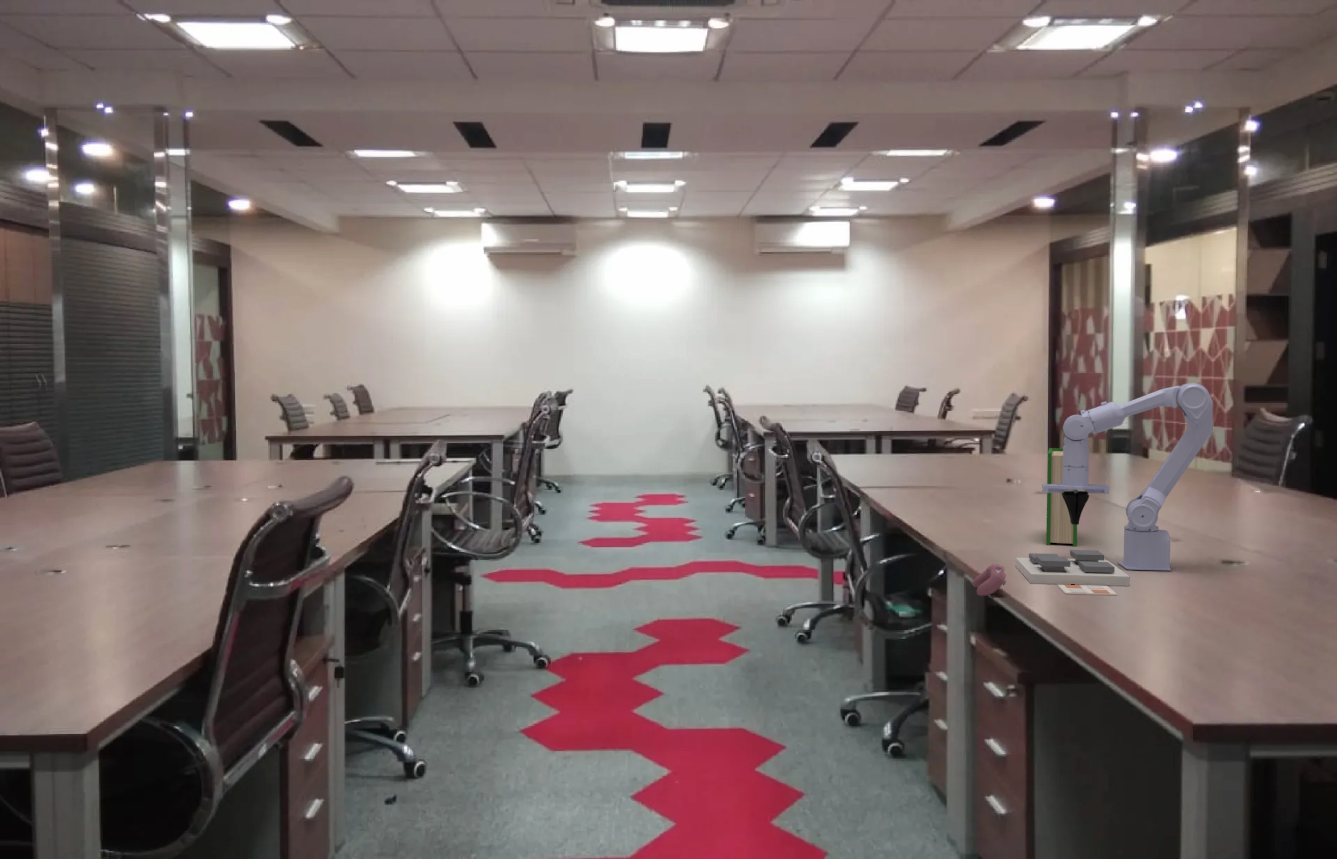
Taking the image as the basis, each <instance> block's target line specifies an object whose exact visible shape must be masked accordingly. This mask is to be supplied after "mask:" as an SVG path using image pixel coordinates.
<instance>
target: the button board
mask: <svg viewBox="0 0 1337 859" xmlns="http://www.w3.org/2000/svg"><path fill="white" fill-rule="evenodd" d="M1067 559H1068V560H1069V561H1071V562H1070V567H1065V570H1064V572H1043V571H1042V566H1040V565H1039V564H1035V563H1033V562H1032V561H1031V560H1030V559H1029V557H1015V567H1016V569H1018V570H1019V572H1020V573H1021V574H1022V575H1023V576H1024V577H1025V579H1026V580H1027V581H1028V582H1029V583H1030V584H1033V585H1035V584H1037V585H1038V584H1039V585H1041V584H1042V585H1043V584H1044V585H1071V584H1075V585H1098V586H1108V587H1109V586H1114V587H1115V586H1116V587H1131V576H1129V575H1128V574H1127V573H1126V572H1125V571H1123V570H1121V569H1120V568H1119V567H1117V565H1114V564H1113V563H1112V562H1110V561H1109V560H1108V559H1104V560H1098V562H1108V563H1110V564H1111V565H1112V566H1114V567H1115V570H1114V573H1086V572H1084V571H1083V570H1082V569H1081V568H1080V567H1079V565H1077V564H1075V559H1074V558H1067Z"/></svg>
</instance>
